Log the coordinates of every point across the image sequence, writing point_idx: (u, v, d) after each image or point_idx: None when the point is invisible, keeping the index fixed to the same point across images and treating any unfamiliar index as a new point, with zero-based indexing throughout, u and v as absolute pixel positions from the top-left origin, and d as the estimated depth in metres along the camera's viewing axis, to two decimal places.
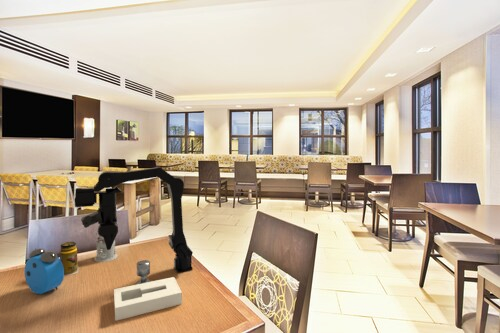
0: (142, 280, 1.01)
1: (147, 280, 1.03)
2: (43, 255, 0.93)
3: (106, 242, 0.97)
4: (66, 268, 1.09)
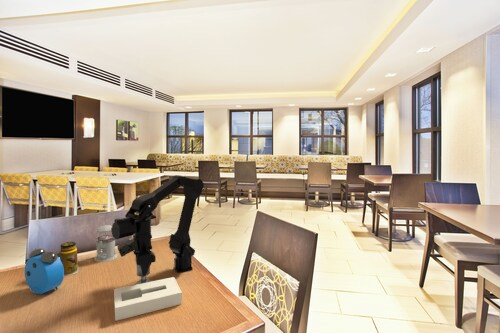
0: (142, 280, 1.01)
1: (147, 280, 1.03)
2: (43, 255, 0.93)
3: (142, 269, 0.98)
4: (66, 268, 1.09)
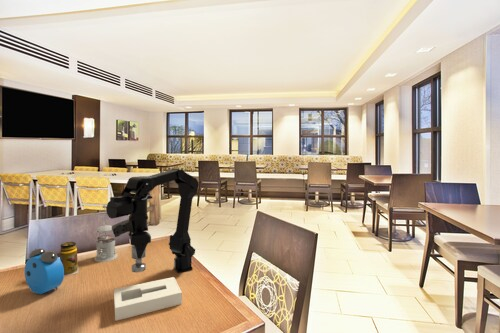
0: (137, 263, 0.96)
1: (142, 264, 0.98)
2: (43, 255, 0.93)
3: (137, 250, 0.93)
4: (66, 268, 1.09)
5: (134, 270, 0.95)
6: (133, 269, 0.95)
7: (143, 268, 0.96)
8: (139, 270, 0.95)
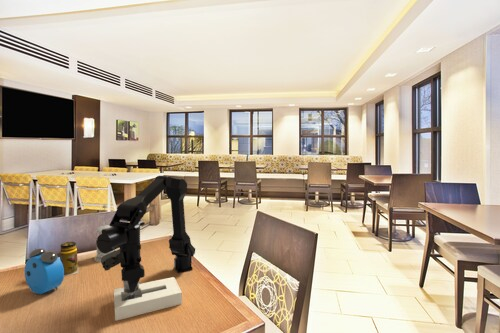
0: (130, 297, 0.88)
1: (136, 296, 0.90)
2: (43, 255, 0.93)
3: (130, 284, 0.85)
4: (66, 268, 1.09)
5: None
6: None
7: None
8: None
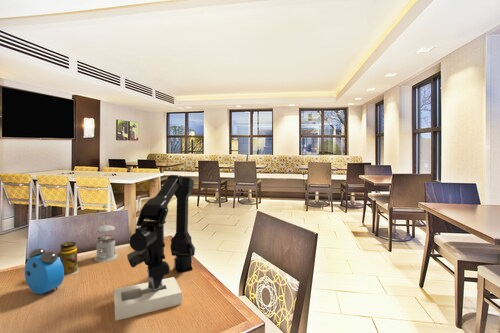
0: None
1: None
2: (43, 255, 0.93)
3: (154, 280, 0.88)
4: (66, 268, 1.09)
5: None
6: None
7: None
8: None
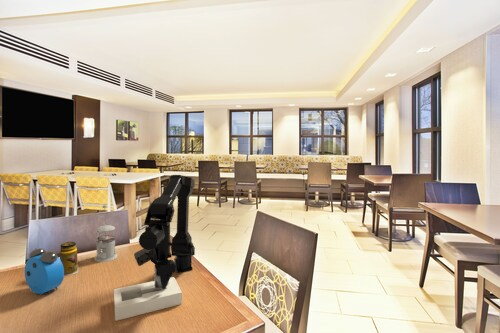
0: None
1: None
2: (43, 255, 0.93)
3: (162, 280, 0.88)
4: (66, 268, 1.09)
5: None
6: None
7: None
8: None
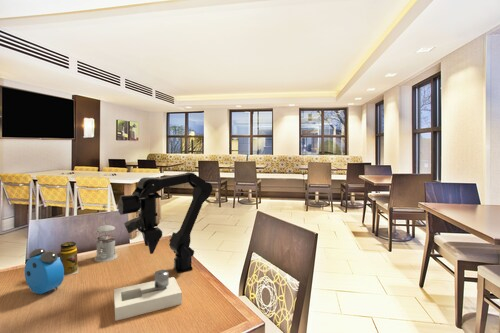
0: None
1: None
2: (43, 255, 0.93)
3: (150, 246, 1.00)
4: (66, 268, 1.09)
5: None
6: None
7: None
8: None
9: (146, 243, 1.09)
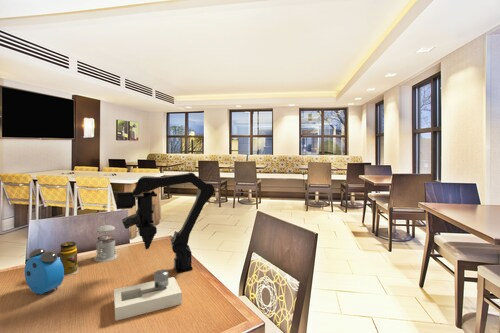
0: None
1: None
2: (43, 255, 0.93)
3: (145, 242, 1.05)
4: (66, 268, 1.09)
5: None
6: None
7: None
8: None
9: None
